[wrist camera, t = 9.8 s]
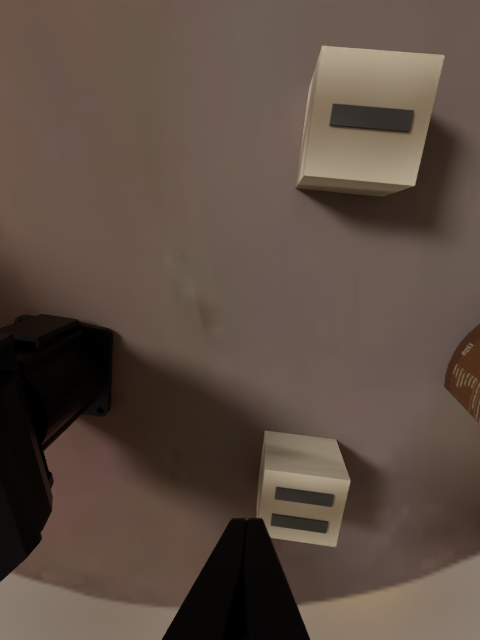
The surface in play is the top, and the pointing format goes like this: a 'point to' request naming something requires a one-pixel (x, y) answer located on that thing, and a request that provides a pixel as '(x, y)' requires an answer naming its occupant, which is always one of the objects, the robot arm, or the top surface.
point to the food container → (466, 373)
